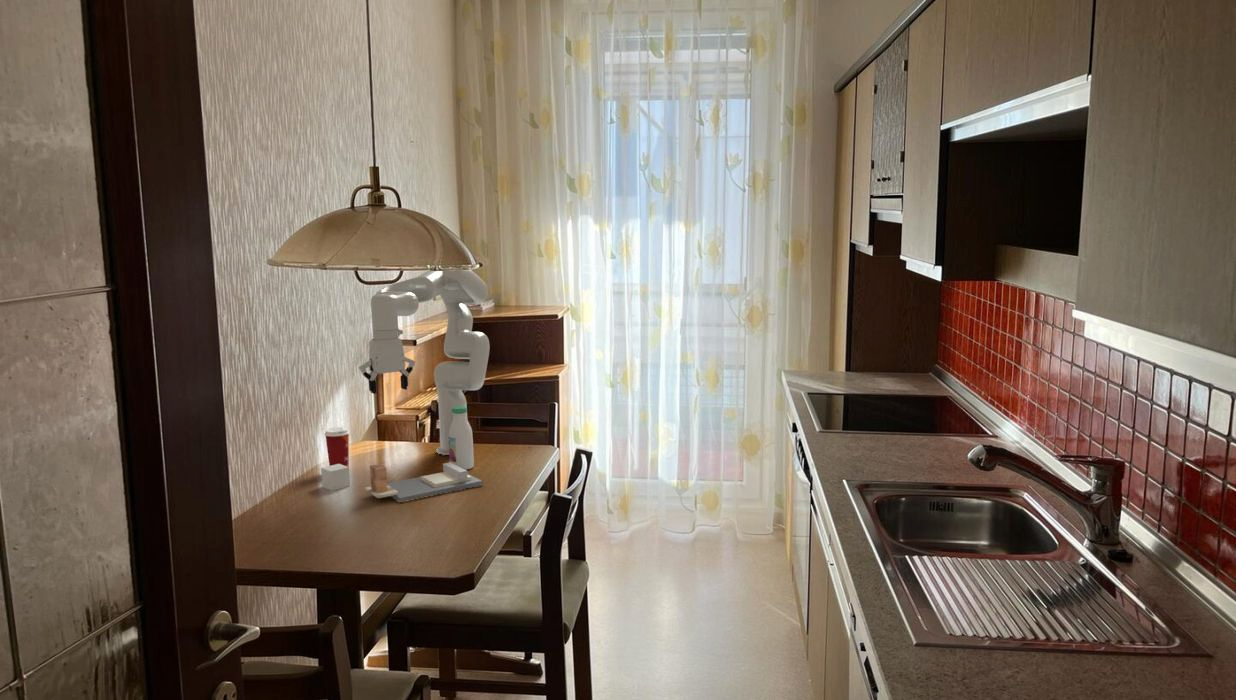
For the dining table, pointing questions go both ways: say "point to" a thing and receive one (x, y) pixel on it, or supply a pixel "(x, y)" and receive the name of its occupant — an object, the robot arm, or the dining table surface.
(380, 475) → the stub
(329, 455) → the paper cup
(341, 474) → the white cube
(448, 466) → the holder
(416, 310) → the robot arm
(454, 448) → the milk bottle
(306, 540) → the dining table surface
